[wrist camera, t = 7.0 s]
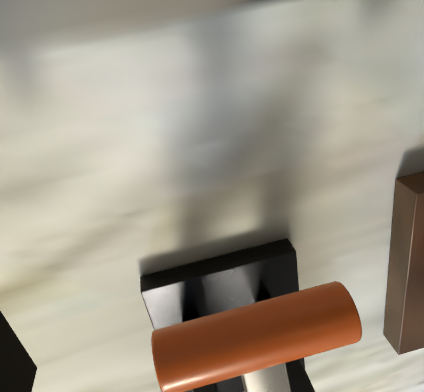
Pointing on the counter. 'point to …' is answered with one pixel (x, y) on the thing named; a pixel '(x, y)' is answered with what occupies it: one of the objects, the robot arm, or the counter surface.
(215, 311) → the switch bracket
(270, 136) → the counter surface
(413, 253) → the button block
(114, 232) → the counter surface
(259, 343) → the switch
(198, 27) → the counter surface
